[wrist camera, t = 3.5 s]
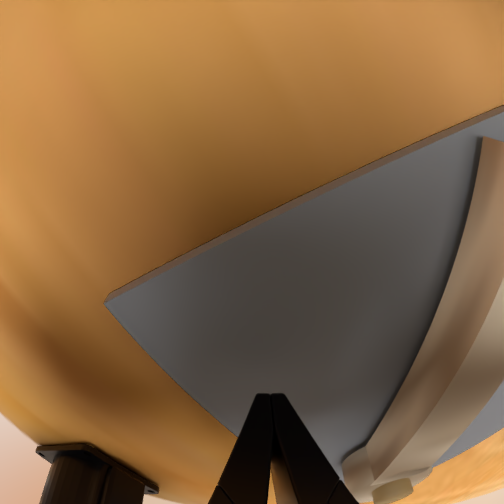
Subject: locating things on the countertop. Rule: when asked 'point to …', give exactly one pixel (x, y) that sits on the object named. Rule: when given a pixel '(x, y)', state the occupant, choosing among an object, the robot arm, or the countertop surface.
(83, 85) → the countertop surface
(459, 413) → the link
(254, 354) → the board
